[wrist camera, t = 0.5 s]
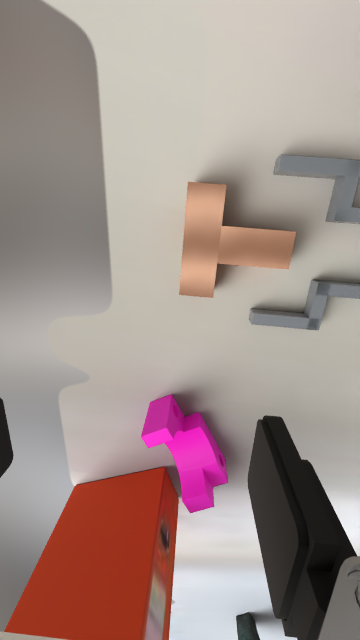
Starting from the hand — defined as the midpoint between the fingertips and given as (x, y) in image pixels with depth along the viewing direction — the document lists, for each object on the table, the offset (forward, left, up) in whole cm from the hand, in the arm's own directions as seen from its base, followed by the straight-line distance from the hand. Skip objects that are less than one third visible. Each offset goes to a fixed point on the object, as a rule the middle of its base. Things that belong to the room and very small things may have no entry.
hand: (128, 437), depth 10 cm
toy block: (+23, +3, -27) cm, 36 cm away
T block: (-6, +6, -27) cm, 28 cm away
